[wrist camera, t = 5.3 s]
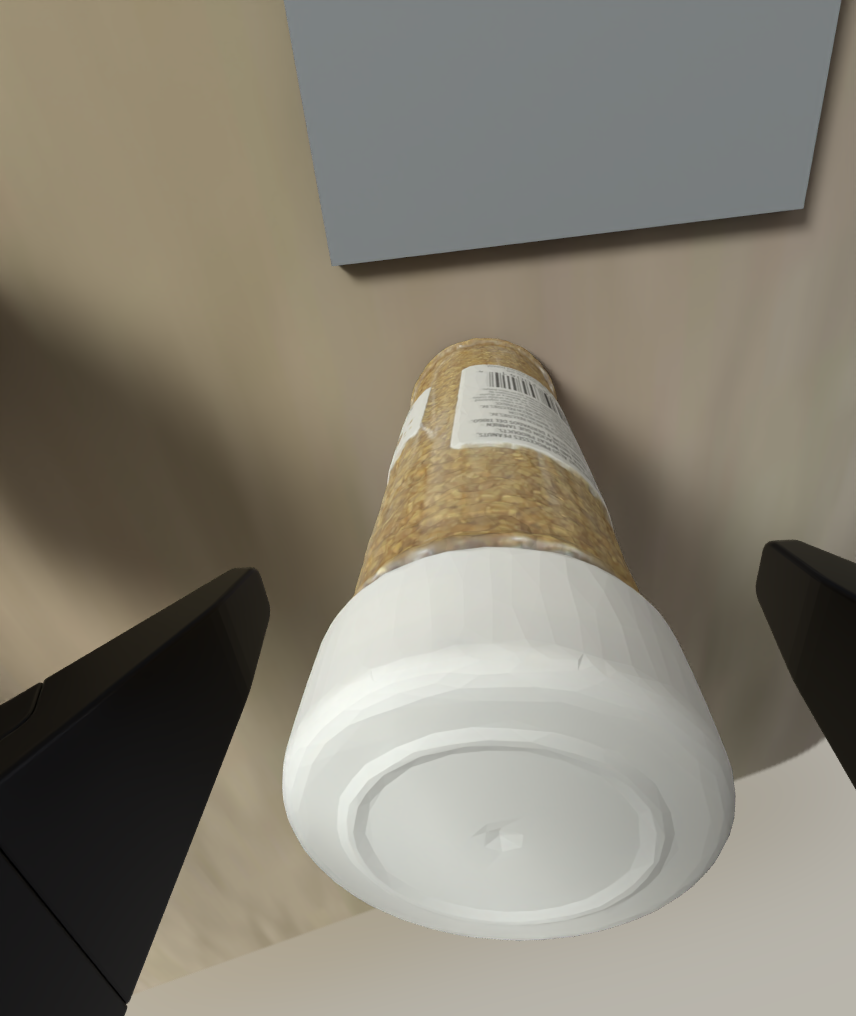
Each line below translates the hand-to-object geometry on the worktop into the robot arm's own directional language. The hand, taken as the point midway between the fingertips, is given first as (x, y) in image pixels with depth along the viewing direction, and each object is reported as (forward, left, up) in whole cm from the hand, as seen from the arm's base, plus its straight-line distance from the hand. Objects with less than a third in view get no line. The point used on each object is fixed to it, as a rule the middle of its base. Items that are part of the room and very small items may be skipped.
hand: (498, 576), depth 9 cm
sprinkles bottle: (0, 0, -9) cm, 9 cm away
